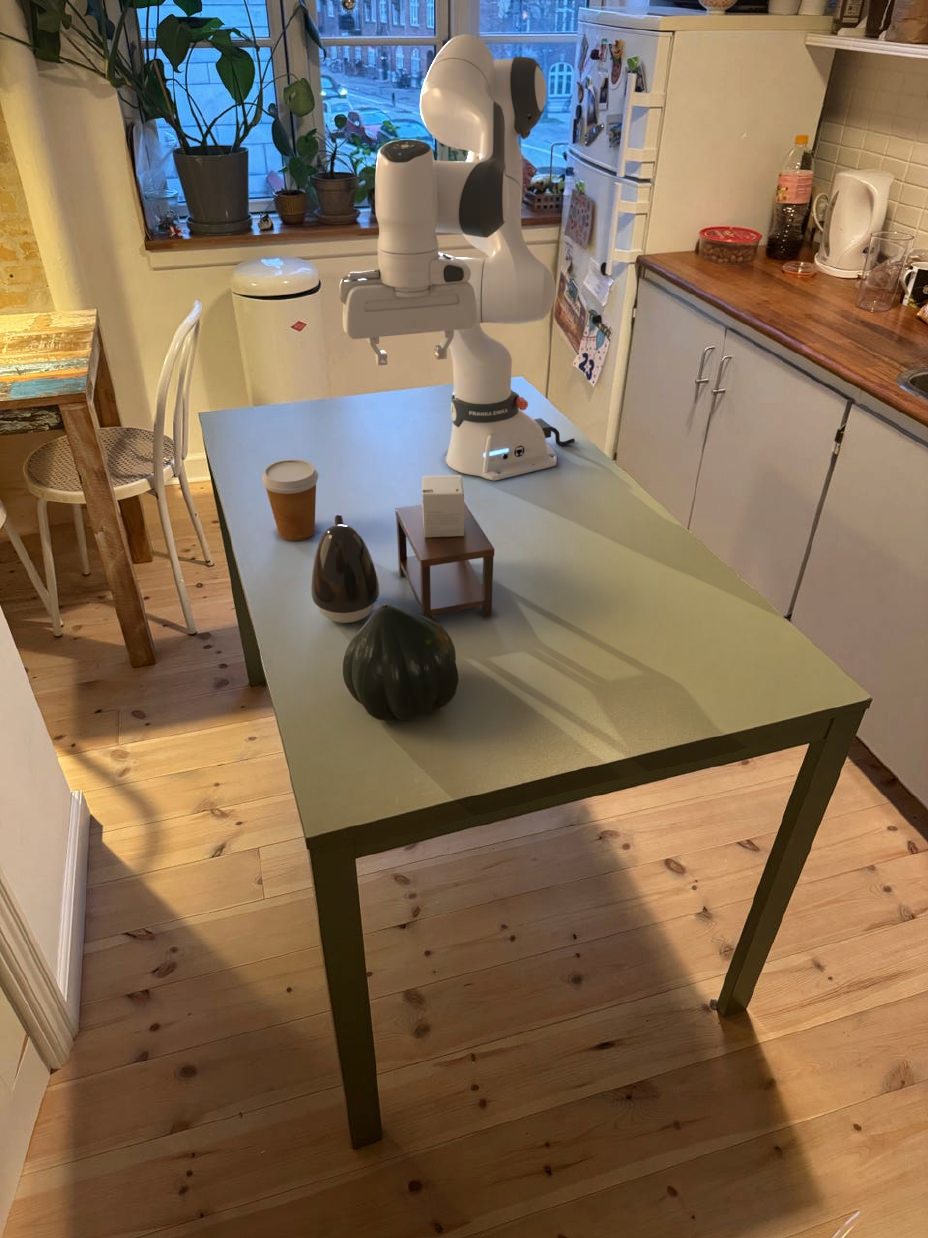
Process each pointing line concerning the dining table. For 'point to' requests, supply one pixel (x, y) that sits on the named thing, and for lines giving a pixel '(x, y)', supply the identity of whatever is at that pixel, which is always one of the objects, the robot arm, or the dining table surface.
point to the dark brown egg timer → (344, 575)
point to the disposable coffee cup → (292, 497)
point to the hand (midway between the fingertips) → (411, 361)
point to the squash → (400, 664)
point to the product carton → (443, 506)
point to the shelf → (445, 564)
